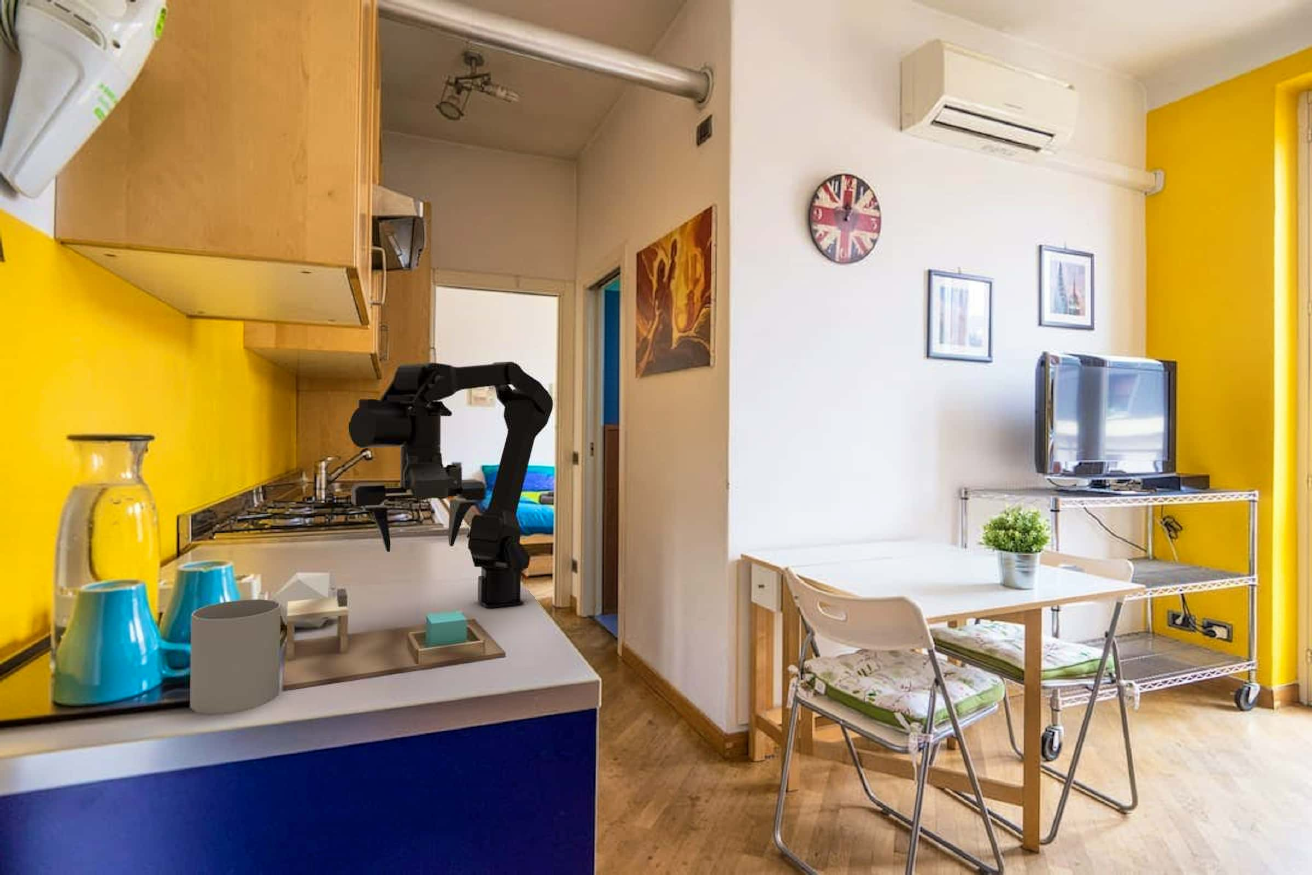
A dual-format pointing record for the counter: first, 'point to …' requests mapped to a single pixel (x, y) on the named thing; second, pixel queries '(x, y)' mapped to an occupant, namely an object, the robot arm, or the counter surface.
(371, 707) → the counter surface
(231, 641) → the cup
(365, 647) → the board
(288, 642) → the bridge
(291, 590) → the die
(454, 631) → the block
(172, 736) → the counter surface
